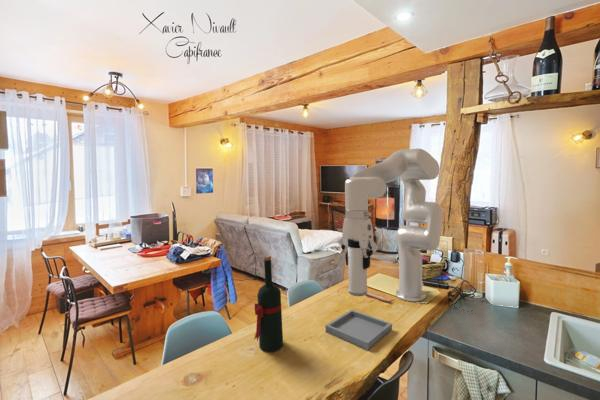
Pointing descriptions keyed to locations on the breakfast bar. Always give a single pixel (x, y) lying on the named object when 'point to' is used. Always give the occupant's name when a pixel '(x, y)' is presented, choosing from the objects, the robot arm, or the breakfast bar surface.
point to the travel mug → (356, 270)
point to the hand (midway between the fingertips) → (357, 265)
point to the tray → (359, 329)
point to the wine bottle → (269, 313)
